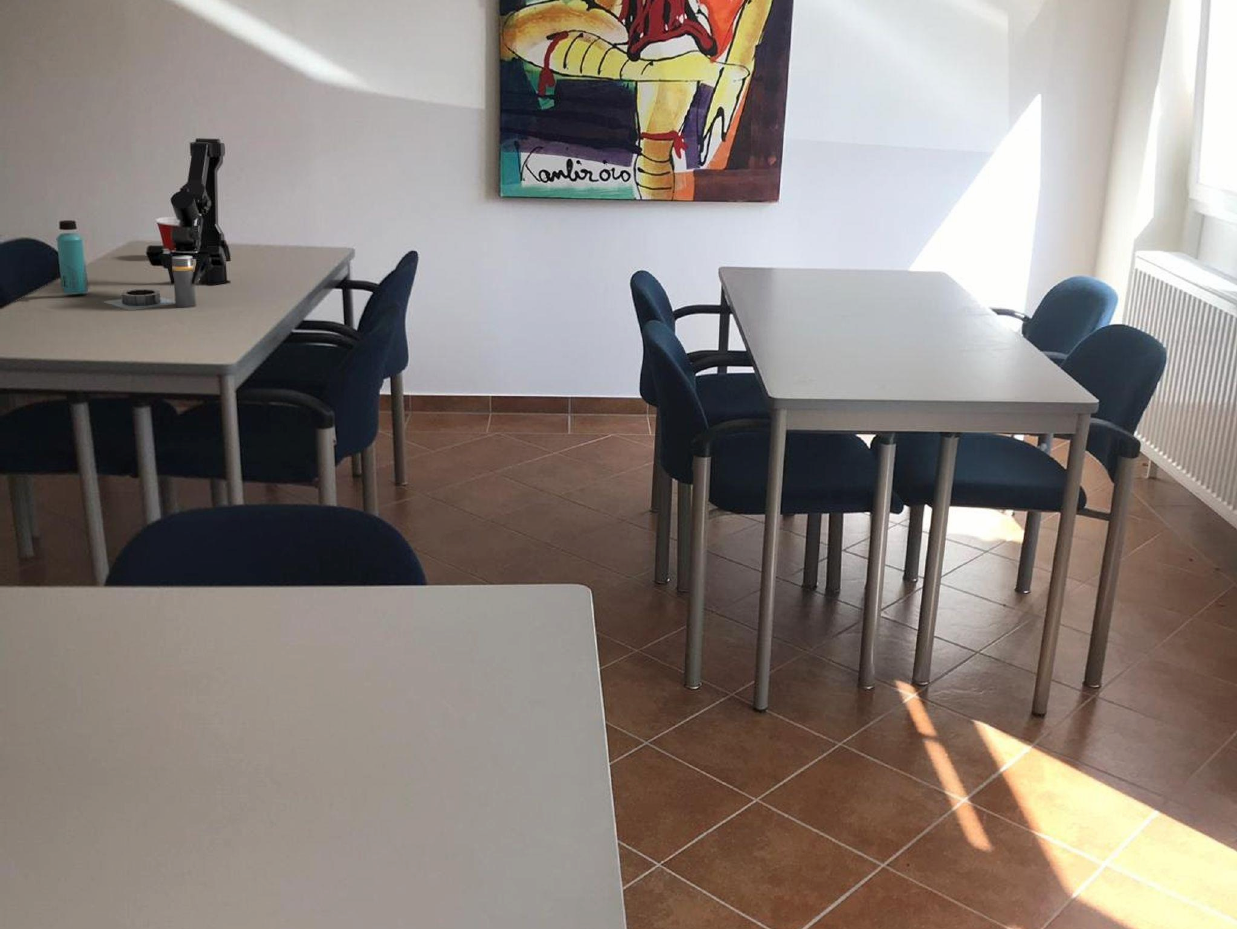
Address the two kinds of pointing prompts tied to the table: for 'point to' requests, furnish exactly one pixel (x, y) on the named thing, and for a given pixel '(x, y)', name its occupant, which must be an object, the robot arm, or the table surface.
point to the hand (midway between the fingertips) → (182, 283)
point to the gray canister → (183, 281)
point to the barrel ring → (141, 297)
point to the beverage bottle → (71, 260)
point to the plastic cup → (167, 230)
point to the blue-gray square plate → (119, 304)
